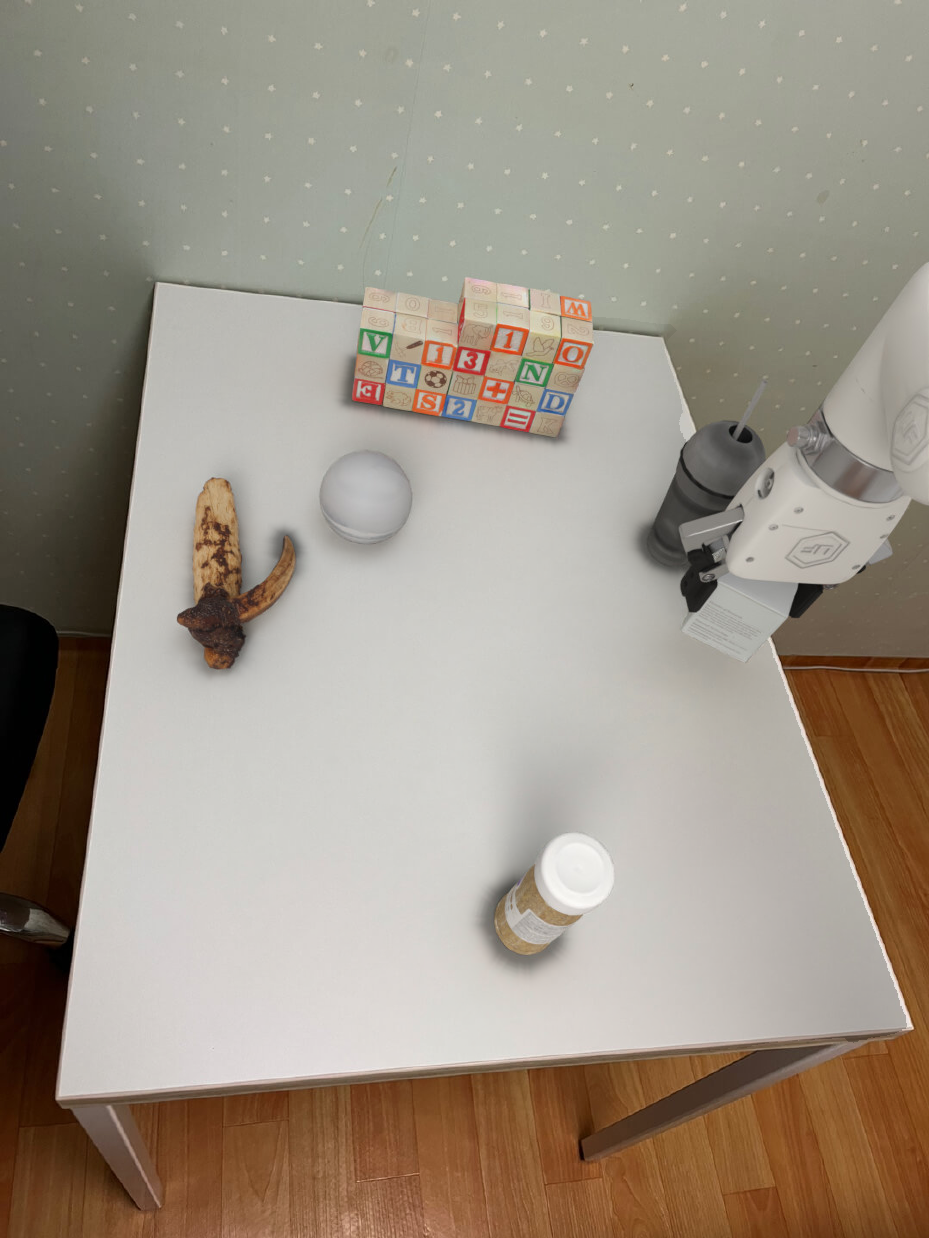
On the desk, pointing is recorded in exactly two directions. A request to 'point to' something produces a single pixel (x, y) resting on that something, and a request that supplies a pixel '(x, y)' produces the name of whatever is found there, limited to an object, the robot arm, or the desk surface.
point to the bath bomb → (365, 497)
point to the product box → (740, 614)
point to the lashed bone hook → (226, 578)
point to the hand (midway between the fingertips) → (739, 599)
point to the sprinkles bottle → (555, 892)
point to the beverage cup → (706, 480)
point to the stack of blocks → (475, 354)
